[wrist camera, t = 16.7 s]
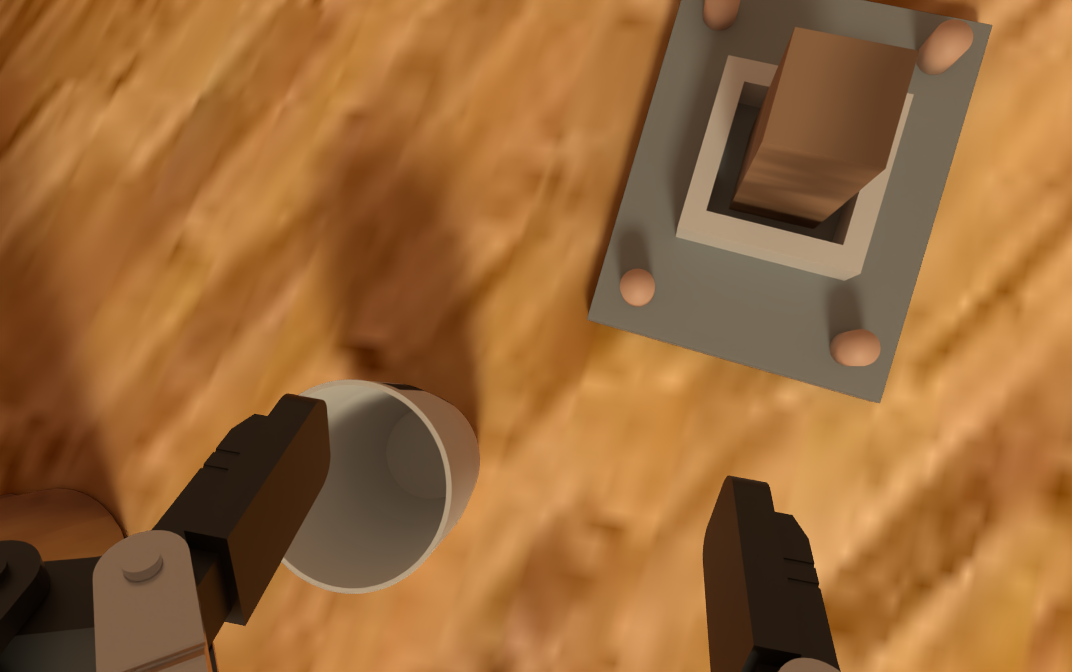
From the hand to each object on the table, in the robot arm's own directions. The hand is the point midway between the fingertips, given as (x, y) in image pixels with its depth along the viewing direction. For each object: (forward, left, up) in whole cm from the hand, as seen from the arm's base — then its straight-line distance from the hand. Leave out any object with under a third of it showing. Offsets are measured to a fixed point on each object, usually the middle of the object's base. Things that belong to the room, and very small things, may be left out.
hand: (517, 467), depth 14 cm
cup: (-8, -5, -22) cm, 23 cm away
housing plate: (+5, +13, -21) cm, 26 cm away
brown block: (+5, +13, -20) cm, 25 cm away
